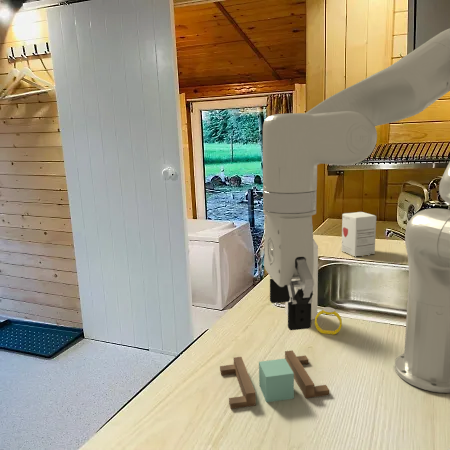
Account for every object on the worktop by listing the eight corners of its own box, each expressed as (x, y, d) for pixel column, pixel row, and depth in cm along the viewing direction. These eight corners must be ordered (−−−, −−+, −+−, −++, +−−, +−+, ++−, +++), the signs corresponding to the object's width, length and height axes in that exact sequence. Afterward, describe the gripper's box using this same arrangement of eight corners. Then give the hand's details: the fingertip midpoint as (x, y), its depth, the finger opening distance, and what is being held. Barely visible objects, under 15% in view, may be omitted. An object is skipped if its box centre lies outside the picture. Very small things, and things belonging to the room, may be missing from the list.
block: (285, 382, 78) (285, 358, 77) (293, 398, 73) (293, 373, 72) (259, 386, 77) (258, 361, 76) (266, 402, 72) (265, 377, 71)
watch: (340, 332, 97) (343, 309, 95) (340, 338, 94) (342, 314, 93) (314, 328, 99) (316, 305, 97) (313, 333, 96) (315, 309, 95)
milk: (317, 319, 104) (319, 233, 99) (295, 323, 102) (296, 236, 97) (305, 309, 109) (306, 228, 104) (284, 313, 107) (284, 230, 103)
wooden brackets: (305, 359, 85) (305, 348, 85) (329, 395, 74) (329, 382, 73) (220, 370, 83) (219, 359, 82) (230, 408, 71) (230, 395, 70)
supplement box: (340, 251, 160) (341, 213, 156) (360, 248, 162) (361, 211, 159) (354, 257, 151) (356, 217, 148) (375, 254, 154) (377, 215, 151)
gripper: (251, 195, 67) (252, 295, 71) (281, 215, 50) (280, 344, 54) (295, 193, 68) (294, 291, 72) (339, 211, 52) (335, 338, 55)
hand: (288, 314), depth 63 cm, fingers open, 9 cm apart
